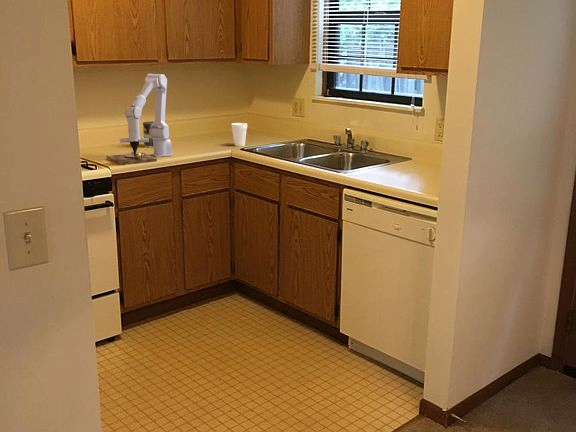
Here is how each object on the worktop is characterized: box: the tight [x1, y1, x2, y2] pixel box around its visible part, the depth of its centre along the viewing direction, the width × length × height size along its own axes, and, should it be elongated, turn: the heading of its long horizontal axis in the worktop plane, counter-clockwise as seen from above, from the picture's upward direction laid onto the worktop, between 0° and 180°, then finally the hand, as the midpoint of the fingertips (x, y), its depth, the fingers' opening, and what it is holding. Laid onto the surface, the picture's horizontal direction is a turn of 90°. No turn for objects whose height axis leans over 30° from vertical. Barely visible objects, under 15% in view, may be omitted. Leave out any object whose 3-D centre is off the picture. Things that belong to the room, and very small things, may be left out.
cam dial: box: [124, 151, 144, 159], centre depth 327 cm, size 14×10×3 cm
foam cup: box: [231, 122, 248, 147], centre depth 373 cm, size 10×9×13 cm
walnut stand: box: [106, 152, 158, 166], centre depth 327 cm, size 20×20×4 cm
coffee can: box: [142, 120, 159, 149], centre depth 367 cm, size 10×10×14 cm
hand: (135, 156), depth 322 cm, fingers closed
